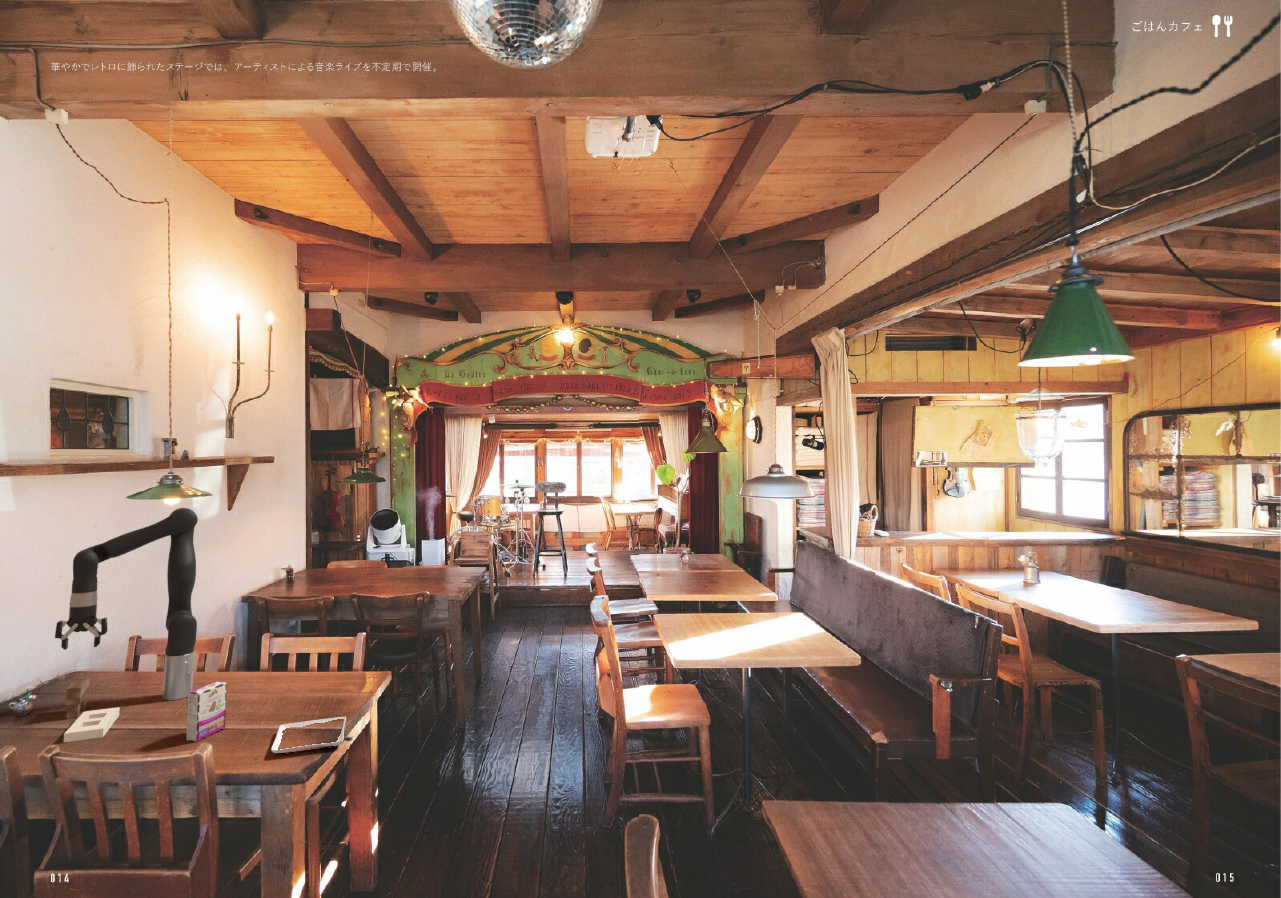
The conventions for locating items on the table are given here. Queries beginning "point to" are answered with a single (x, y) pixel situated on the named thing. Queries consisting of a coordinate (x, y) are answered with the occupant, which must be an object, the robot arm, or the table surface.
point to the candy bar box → (206, 710)
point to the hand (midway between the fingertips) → (80, 647)
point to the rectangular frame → (300, 724)
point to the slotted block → (91, 724)
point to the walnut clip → (76, 697)
